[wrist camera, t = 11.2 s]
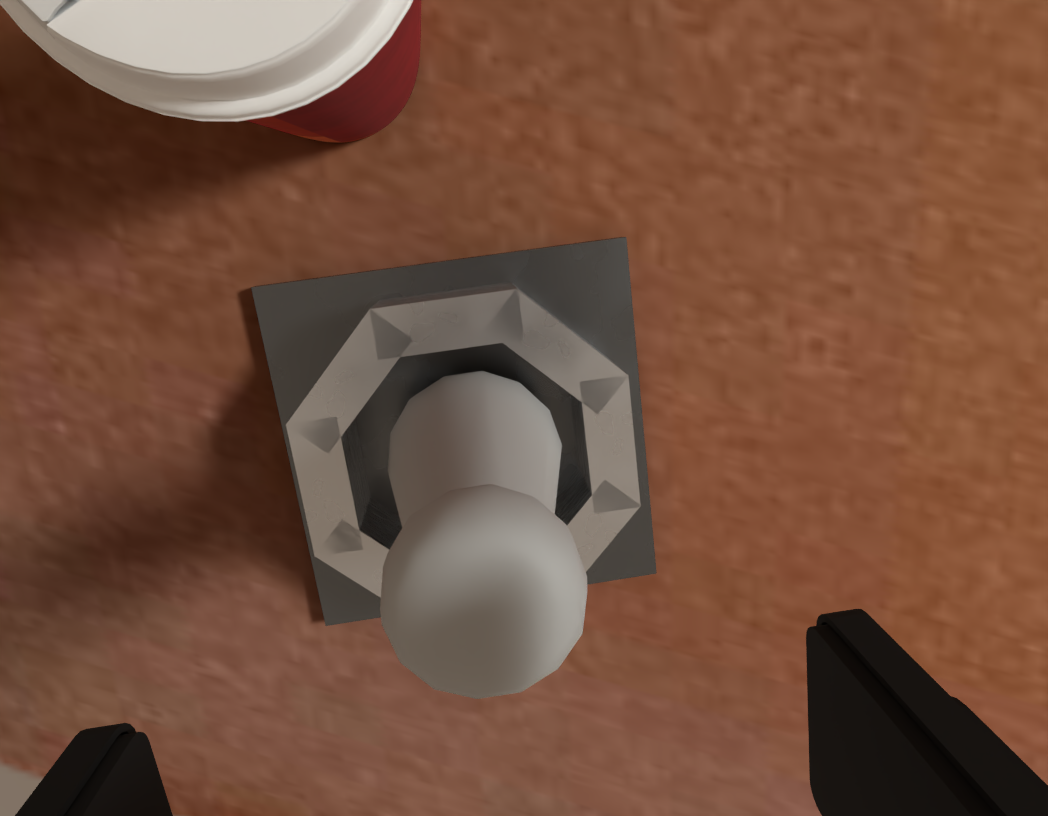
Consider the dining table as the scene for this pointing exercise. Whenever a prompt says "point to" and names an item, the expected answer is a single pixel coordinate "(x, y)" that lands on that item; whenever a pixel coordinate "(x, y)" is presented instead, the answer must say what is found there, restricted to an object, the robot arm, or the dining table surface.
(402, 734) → the dining table surface
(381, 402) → the ring collar
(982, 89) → the dining table surface
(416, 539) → the grey peg
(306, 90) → the paper cup
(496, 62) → the dining table surface
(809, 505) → the dining table surface
